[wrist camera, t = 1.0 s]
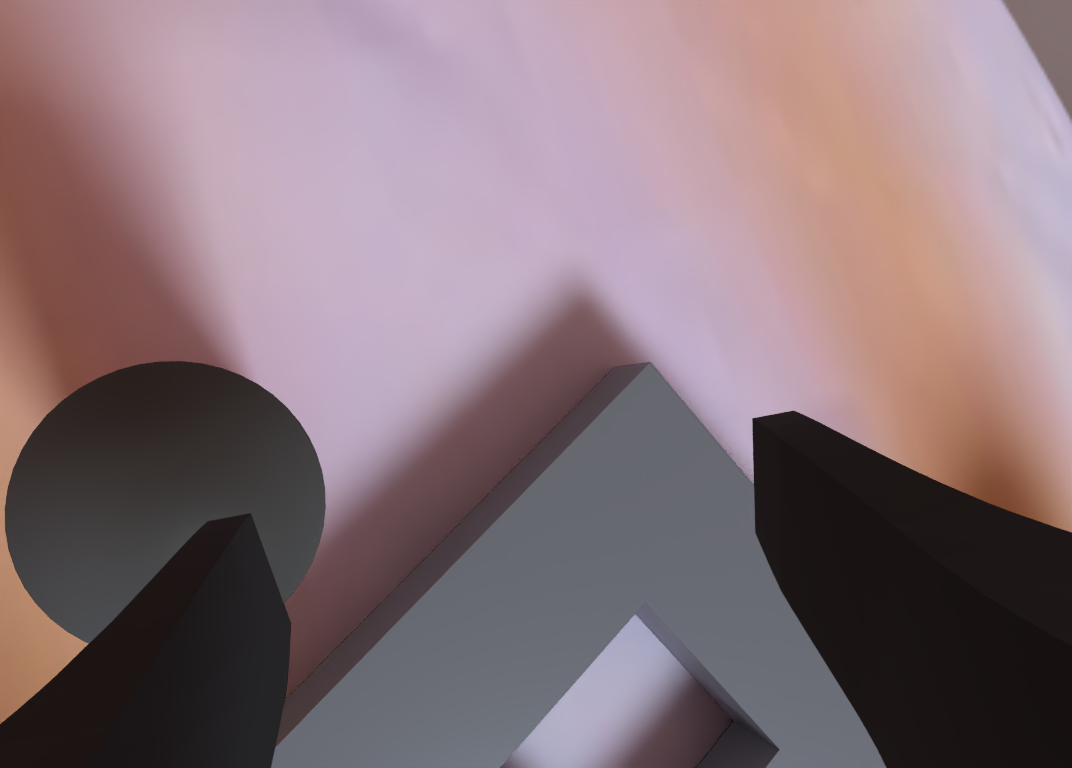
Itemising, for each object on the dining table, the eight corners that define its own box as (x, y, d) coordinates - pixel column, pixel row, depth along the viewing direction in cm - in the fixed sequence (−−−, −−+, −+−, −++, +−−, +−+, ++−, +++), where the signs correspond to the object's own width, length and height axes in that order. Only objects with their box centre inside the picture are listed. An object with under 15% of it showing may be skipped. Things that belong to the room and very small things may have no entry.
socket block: (596, 1116, 25) (633, 1189, 23) (212, 773, 22) (208, 816, 20) (901, 704, 30) (958, 728, 27) (614, 366, 26) (650, 361, 24)
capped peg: (191, 617, 22) (164, 720, 15) (40, 476, 21) (-71, 509, 14) (338, 478, 24) (383, 507, 16) (203, 339, 23) (184, 301, 15)
